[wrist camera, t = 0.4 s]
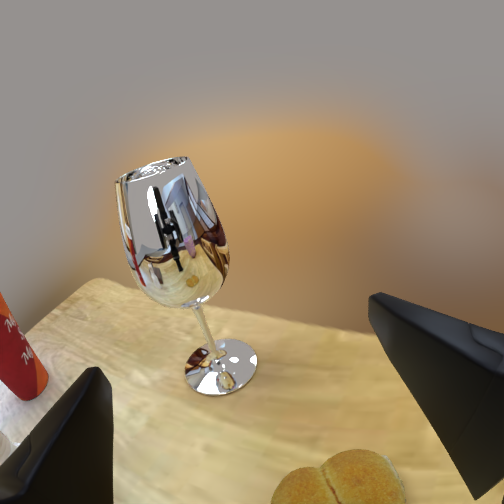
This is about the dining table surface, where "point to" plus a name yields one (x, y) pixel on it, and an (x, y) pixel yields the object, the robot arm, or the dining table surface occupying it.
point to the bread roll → (343, 481)
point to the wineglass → (182, 261)
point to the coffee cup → (18, 359)
